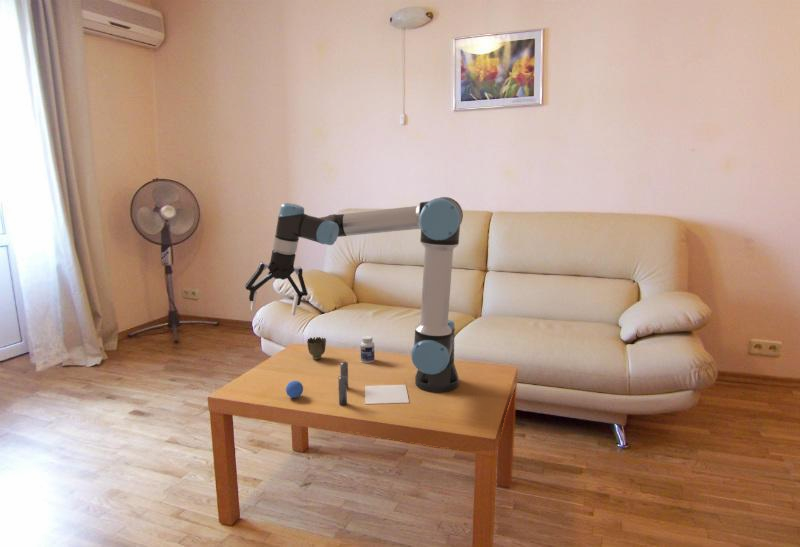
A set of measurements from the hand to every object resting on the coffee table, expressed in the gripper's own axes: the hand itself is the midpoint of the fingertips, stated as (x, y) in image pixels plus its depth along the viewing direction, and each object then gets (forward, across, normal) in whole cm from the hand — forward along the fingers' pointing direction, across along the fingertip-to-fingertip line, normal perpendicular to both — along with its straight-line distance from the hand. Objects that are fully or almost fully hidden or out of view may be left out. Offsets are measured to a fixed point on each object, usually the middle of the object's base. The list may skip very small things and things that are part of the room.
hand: (272, 312), depth 170 cm
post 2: (+20, -22, +24) cm, 38 cm away
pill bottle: (+20, -42, -9) cm, 47 cm away
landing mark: (+17, -37, +23) cm, 47 cm away
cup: (+25, -25, -18) cm, 40 cm away
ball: (+21, -9, +13) cm, 26 cm away
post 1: (+20, -26, +13) cm, 35 cm away
